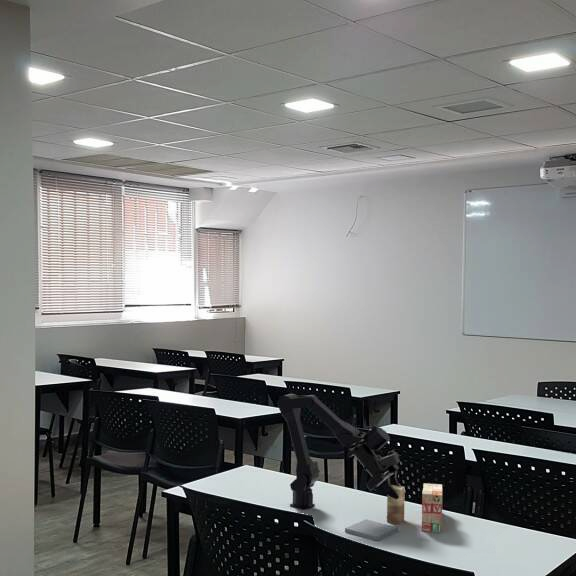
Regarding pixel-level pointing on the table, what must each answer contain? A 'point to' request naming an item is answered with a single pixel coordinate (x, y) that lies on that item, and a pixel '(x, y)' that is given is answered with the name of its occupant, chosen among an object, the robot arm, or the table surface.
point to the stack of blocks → (432, 508)
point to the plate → (371, 529)
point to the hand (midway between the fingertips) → (400, 496)
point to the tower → (396, 506)
